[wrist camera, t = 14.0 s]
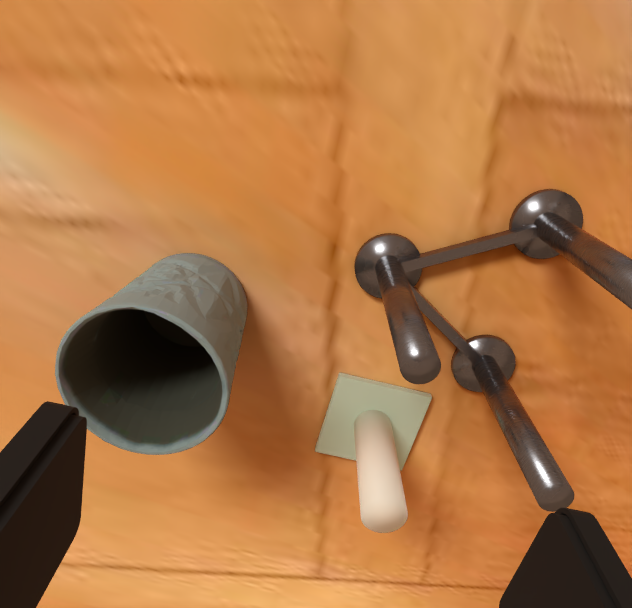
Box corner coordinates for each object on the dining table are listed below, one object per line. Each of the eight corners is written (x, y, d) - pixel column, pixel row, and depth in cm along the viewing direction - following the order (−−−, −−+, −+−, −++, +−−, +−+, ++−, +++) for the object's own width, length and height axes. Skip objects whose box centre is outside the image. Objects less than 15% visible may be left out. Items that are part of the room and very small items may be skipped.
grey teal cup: (258, 359, 43) (235, 456, 32) (136, 359, 43) (72, 456, 32) (250, 240, 39) (220, 305, 28) (115, 241, 39) (34, 306, 28)
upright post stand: (591, 199, 37) (746, 271, 24) (498, 393, 44) (577, 538, 30) (390, 143, 36) (430, 186, 22) (326, 352, 43) (327, 485, 29)
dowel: (396, 414, 44) (414, 503, 35) (384, 443, 46) (399, 536, 36) (359, 406, 44) (368, 493, 35) (349, 436, 45) (355, 527, 36)
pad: (430, 393, 44) (432, 397, 44) (400, 466, 47) (401, 470, 47) (339, 372, 43) (339, 376, 43) (315, 447, 47) (315, 451, 46)
